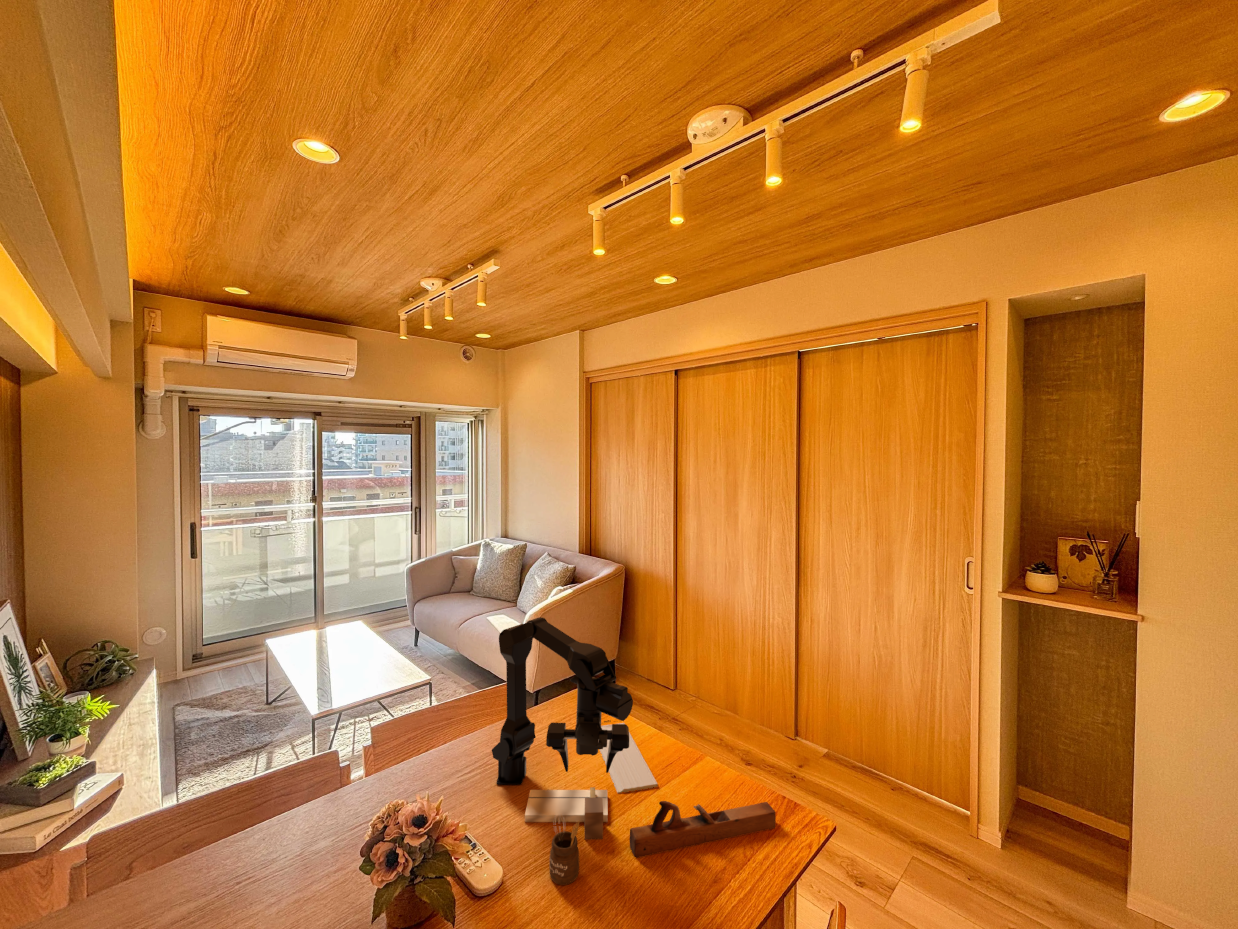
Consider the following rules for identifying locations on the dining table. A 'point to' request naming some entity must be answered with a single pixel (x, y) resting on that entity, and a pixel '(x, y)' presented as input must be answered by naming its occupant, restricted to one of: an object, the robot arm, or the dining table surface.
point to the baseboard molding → (628, 767)
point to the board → (561, 805)
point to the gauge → (593, 816)
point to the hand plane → (698, 827)
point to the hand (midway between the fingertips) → (587, 771)
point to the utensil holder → (564, 856)
